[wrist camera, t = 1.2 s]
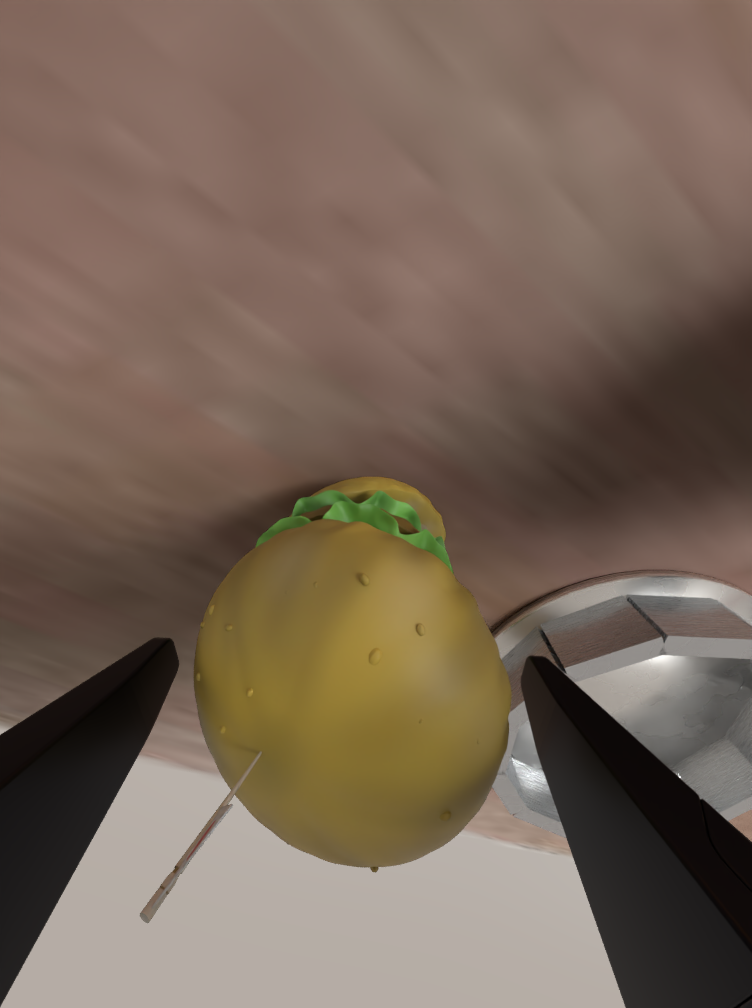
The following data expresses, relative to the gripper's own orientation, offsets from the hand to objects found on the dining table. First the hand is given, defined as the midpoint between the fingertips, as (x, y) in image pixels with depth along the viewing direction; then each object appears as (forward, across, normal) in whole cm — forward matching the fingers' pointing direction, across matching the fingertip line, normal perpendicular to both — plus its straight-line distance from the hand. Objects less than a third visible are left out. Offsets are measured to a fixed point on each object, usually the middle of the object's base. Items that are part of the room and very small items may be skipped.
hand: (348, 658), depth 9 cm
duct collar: (+7, -14, +10) cm, 19 cm away
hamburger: (+7, 0, 0) cm, 7 cm away
